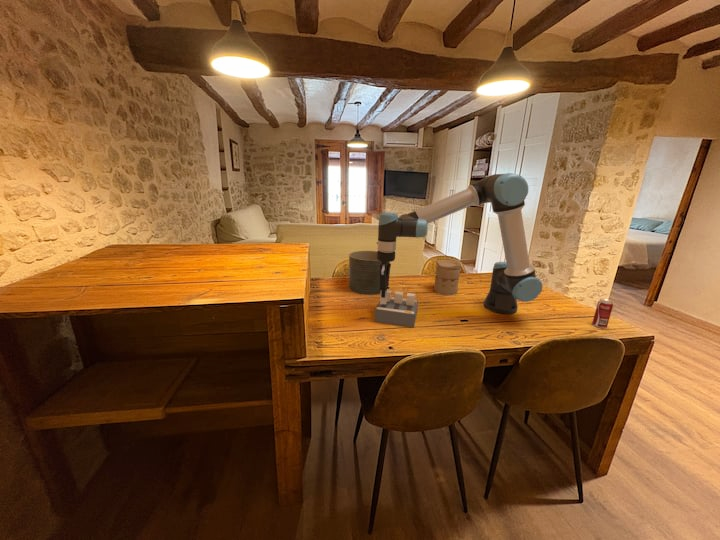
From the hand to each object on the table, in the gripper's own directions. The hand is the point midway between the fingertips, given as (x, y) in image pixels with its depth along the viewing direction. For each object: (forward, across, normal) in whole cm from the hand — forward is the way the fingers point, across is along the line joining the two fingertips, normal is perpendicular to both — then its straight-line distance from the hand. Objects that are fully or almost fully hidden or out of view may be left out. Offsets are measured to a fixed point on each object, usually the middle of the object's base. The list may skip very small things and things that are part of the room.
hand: (383, 303), depth 130 cm
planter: (+8, -34, -15) cm, 38 cm away
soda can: (+8, -25, +93) cm, 97 cm away
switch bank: (+8, -4, +6) cm, 11 cm away
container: (+8, -44, +27) cm, 52 cm away
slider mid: (+1, -7, +6) cm, 9 cm away
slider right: (+1, -6, +11) cm, 13 cm away
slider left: (+1, -8, 0) cm, 8 cm away
